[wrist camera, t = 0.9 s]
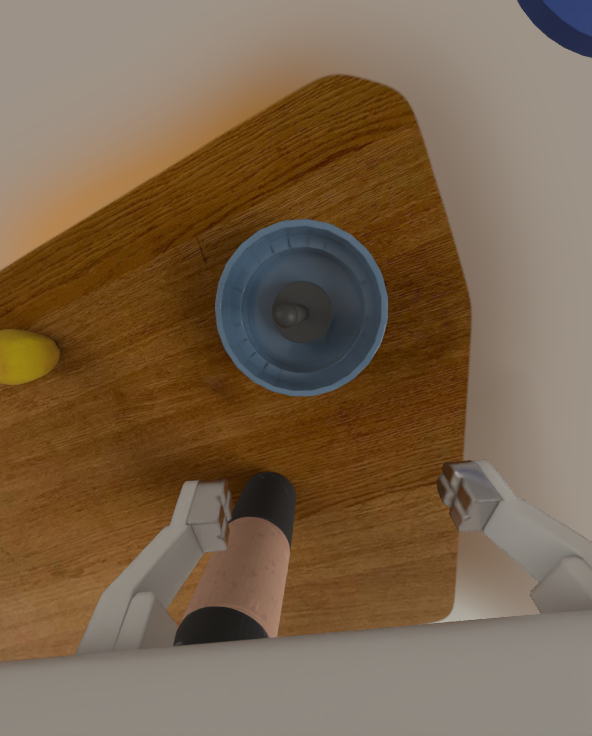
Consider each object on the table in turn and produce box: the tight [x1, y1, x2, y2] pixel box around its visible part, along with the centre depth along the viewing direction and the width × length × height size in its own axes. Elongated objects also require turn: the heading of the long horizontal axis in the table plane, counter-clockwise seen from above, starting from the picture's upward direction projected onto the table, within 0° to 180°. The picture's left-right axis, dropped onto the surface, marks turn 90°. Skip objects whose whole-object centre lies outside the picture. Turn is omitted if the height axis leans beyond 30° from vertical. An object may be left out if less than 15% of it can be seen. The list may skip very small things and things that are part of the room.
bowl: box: [215, 219, 388, 396], centre depth 30 cm, size 16×16×6 cm
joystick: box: [272, 281, 332, 343], centre depth 25 cm, size 6×6×15 cm
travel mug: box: [173, 472, 296, 646], centre depth 28 cm, size 8×8×20 cm
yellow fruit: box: [0, 329, 60, 385], centre depth 33 cm, size 6×6×8 cm
